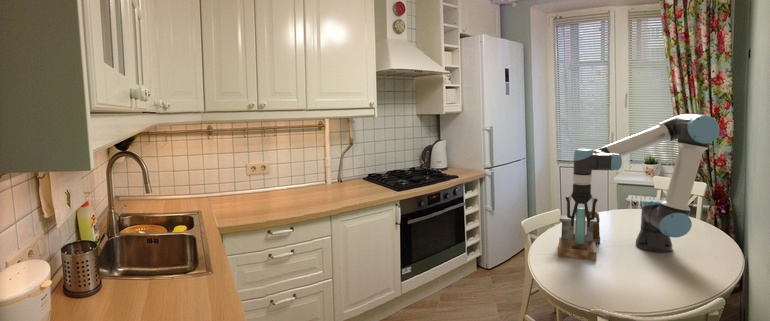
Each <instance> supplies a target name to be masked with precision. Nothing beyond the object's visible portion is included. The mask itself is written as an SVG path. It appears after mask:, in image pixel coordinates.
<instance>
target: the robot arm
mask: <svg viewBox="0 0 770 321" xmlns="http://www.w3.org/2000/svg"><path fill="white" fill-rule="evenodd" d="M719 135H720V124H719V123H718V121H717V120H716V119H715V118H714V117H712V116H710V115H706V114H701V113H700V114H698V113H697V114H696V113H682V114H679V115H677V116H676V115H675V116H673V117H671V118H669V119H666V120H663V121H661V122H658V124H657V125H656V126H653V127H651V128H648V129H646V130H643V131H640V132H639V133H636V134H635V133H634V134H633V135H631V136H627V137H625V138H622V139H620V140H617V141H615V142H613V143H610V144H606V145H604V146H601V147H599V148H577V149H575V150H574V153H573V159H572V160H573V173H572V182H573V183H572V193H571V194H569V195H565V200H566V216H567V217H568V218H570V219H571V226H574V234H575V230H576V219H574V218H575V216H576V210H577V208H579V205H580V204H581V205H584V208H585V211H586V217H587V219H585V235H587V227H590V220H594V218H595V212H596V206H597V205H596V204H597V202H598V197H595V196H593V195H592V193H591V192H592V184H591V183H592V174H593V172H592V171H619V170H620V169H621V167H622V165H623V163H622V162H623V161H622V160H623V158H622V157H625V156H627V155H630V154H632V153H636V152H638V151H641V150H644V149H647V148H649V147H652V146H656V145H657V144H660V143H662V142H663V143H664V142H666V143H670V142H673V141H676V140H677V142H676V145H678V148H679V149H678V152H677V156H676V160H675V163H674V167H673V170H672V173H671V174H672V175H671V177H670V181H669V184H668V188H667V192H666V195H665V198H664V200H663V199H644V200H643V201H642V203H641V214H640V215H641V217H640V229H639V230H640V231H639V233H638V234H637V237H636V239H635V246H636V247H637V248H638V249H641V250H645V251H649V252H654V253H668V252H671V251H673V243H672V238H674V239H675V238H682V237H684V236H686V235H687V234H688V233H689V232H690V231H691V229H692V225H693V224H692V222H693V221H692V219H691V217H690V213H691V208H690V207H689V205H688V204H689V201H690V198H691V193H692V191H693V187H694V185H695V181H696V177H697V174H698V171H699V170H698V169H699V168H700V163H701V160H702V156H703V154H704V153H703V152H705V151H706V150H708V149H709V148H710V145H711V143H713V141H715V140H716V139H717V138H718V137H719ZM572 200H573V201H574V205H573V206H574V207H573V210H572V213H571V201H572ZM590 200H591V202H592V205H591V206H592V207H591V211H592V215H591V217H589V211H590V210H589V206H588V203H589V202H590Z"/></svg>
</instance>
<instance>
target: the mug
mask: <svg viewBox="0 0 770 321" xmlns="http://www.w3.org/2000/svg"><path fill="white" fill-rule="evenodd" d="M588 211H589V217H591V215H592V210H591V211H590V210H588ZM585 217H586V216H585ZM595 218H596V220H597V224H594V229H593V240H595V244H596V246H597V245H599V244H600V243H601V236H600V235H601V234H600V220H601V219H600V214H599V212H597V211H595Z"/></svg>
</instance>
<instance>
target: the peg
mask: <svg viewBox="0 0 770 321" xmlns="http://www.w3.org/2000/svg"><path fill="white" fill-rule="evenodd" d="M575 216H576V230H575V243H577V244H584V240H585V216H586V211H585V207H577V210H576V214H575Z"/></svg>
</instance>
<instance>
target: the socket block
mask: <svg viewBox="0 0 770 321" xmlns="http://www.w3.org/2000/svg"><path fill="white" fill-rule="evenodd" d="M574 219H576V215H575V218H574ZM585 219H587V217H585ZM559 222H561V236H560V237H558V245H557V246H558V247H557V258H565V259H566V258H567V259H575V260H585V261H593V262H596V261H597V255H598V254H597V253H598V252H597V245H596V244H595V240H593V229H594V224H597V220H596V218H594V220H590V227H587V235H585V240H584V244H577V243H575V234H574V226H571V219H570V218H568V217H567V215H563V214H560V215H559Z"/></svg>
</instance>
